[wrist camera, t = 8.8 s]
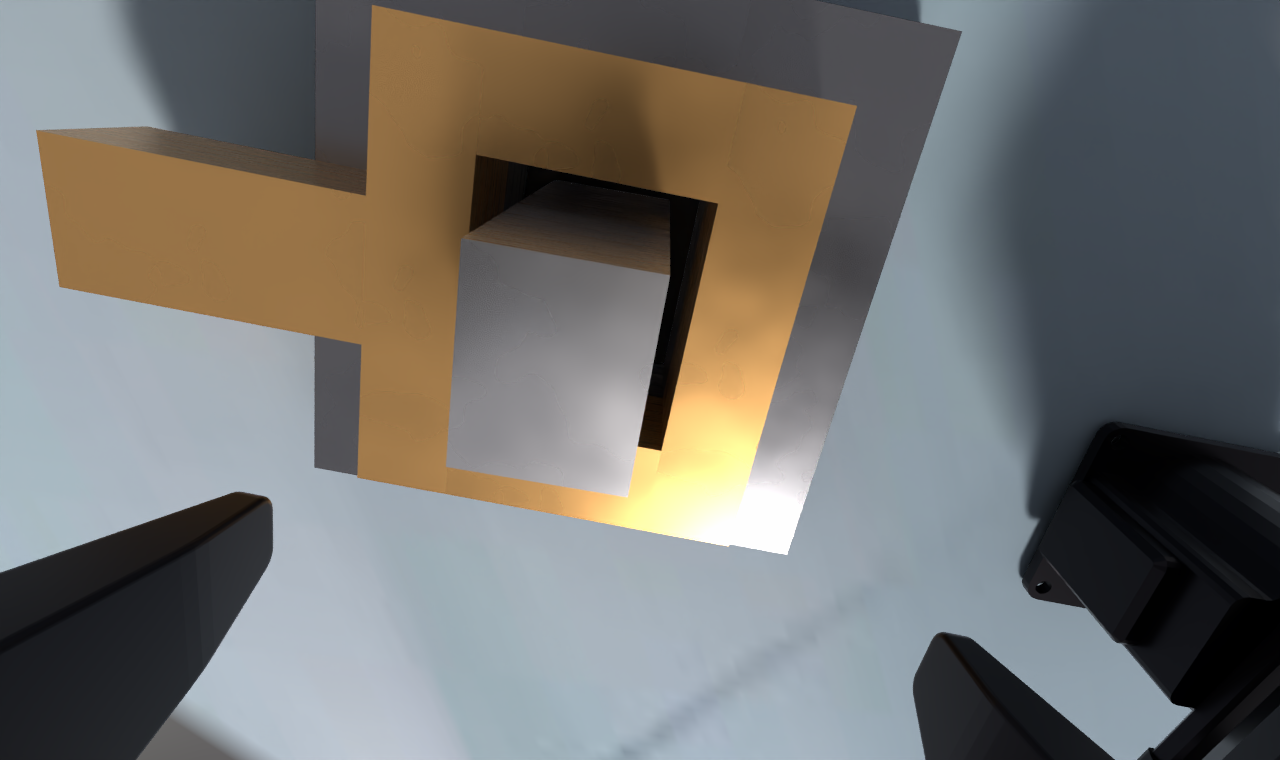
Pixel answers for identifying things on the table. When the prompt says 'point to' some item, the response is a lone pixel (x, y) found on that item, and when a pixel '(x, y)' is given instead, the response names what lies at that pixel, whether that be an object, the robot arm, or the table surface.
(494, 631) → the table surface
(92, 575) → the robot arm
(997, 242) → the table surface
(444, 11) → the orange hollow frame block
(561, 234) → the grey rectangular block
